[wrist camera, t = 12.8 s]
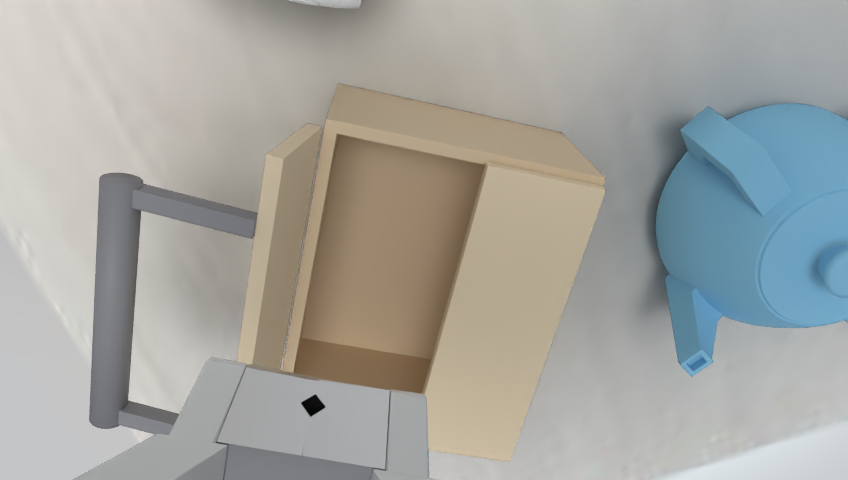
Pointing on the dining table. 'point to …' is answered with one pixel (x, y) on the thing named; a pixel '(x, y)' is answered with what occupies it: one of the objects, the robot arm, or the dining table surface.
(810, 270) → the teapot
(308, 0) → the photo printer
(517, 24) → the dining table surface
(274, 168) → the far flap
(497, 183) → the carton
